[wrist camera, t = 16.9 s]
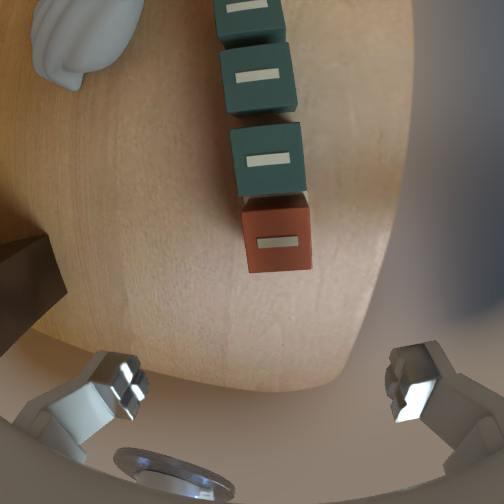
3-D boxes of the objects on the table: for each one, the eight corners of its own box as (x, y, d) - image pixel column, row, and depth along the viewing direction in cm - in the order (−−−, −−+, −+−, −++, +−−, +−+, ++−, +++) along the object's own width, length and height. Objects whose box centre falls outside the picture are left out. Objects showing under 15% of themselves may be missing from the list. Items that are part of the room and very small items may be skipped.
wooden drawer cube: (304, 193, 19) (309, 207, 16) (308, 246, 21) (312, 270, 17) (248, 198, 20) (239, 212, 16) (255, 249, 21) (248, 274, 18)
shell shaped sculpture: (150, -48, 12) (118, -78, 6) (182, 41, 16) (144, 11, 10) (45, 24, 14) (4, 15, 9) (60, 116, 19) (9, 119, 13)
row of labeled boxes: (311, 250, 21) (316, 274, 17) (251, 254, 22) (244, 279, 18) (281, 4, 14) (280, -22, 10) (219, 13, 15) (205, -11, 11)
